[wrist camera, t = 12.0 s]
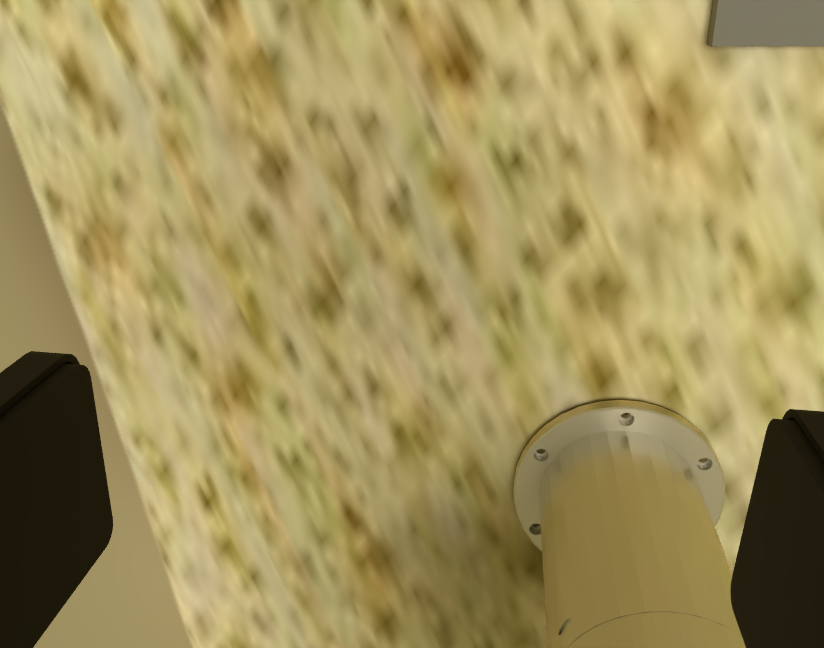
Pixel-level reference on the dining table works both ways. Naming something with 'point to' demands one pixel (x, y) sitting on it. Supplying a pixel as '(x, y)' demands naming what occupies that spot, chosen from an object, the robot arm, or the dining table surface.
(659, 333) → the dining table surface
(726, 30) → the mat
